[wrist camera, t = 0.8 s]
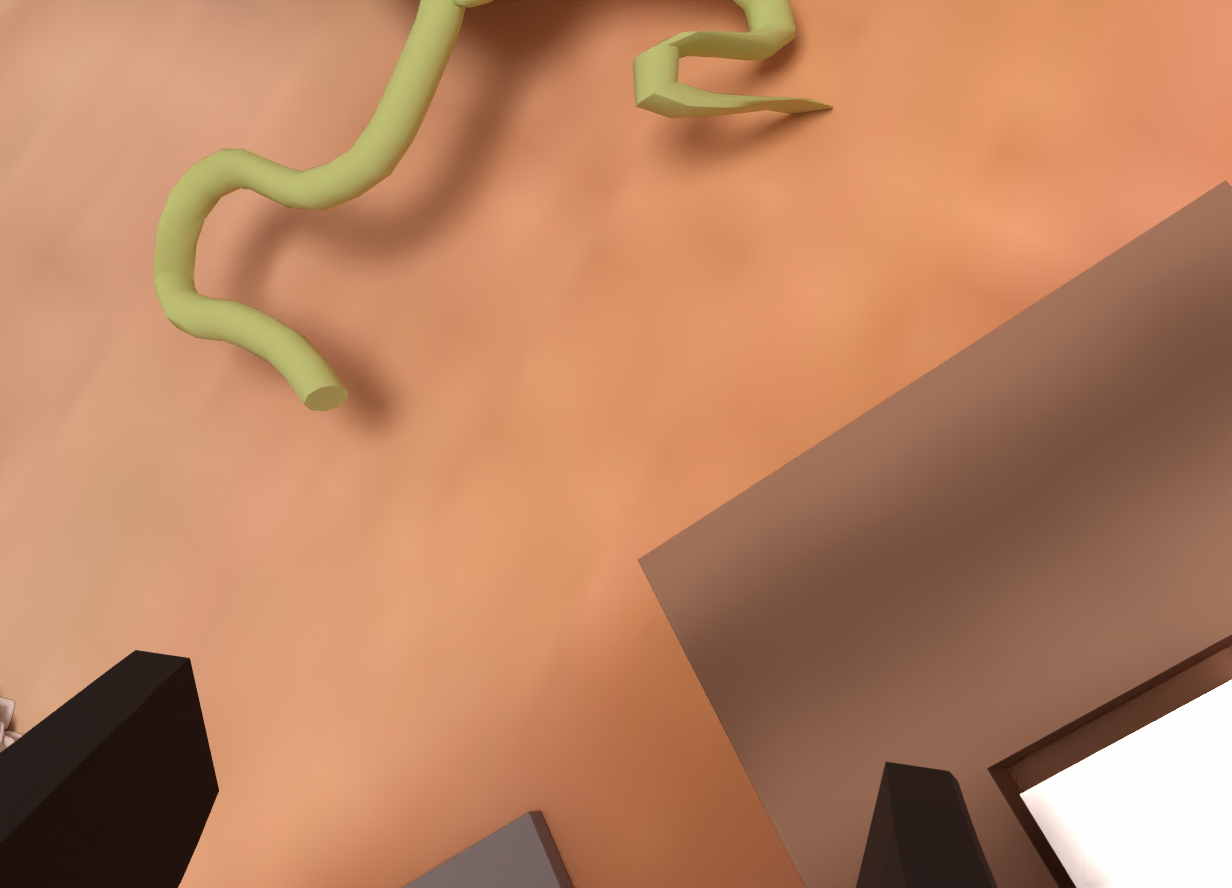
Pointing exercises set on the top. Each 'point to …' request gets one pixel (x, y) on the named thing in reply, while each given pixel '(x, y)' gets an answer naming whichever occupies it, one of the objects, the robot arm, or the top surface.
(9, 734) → the l-shaped corner panel
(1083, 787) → the steel peg
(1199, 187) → the top surface
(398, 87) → the figurine
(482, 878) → the rubber mat
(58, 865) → the robot arm
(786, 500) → the walnut board
